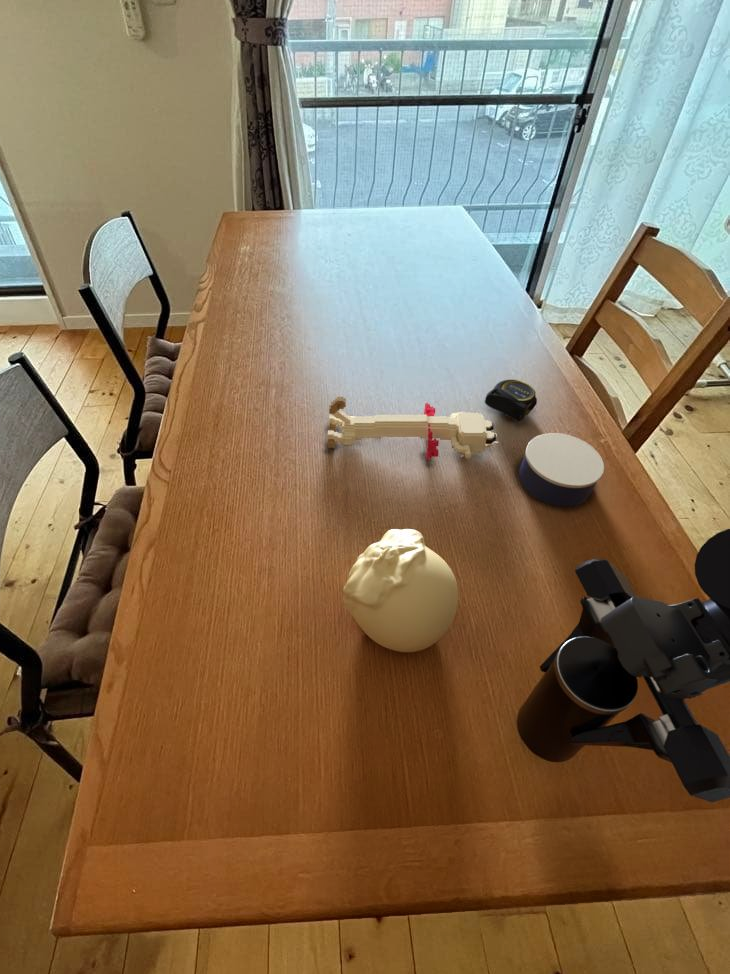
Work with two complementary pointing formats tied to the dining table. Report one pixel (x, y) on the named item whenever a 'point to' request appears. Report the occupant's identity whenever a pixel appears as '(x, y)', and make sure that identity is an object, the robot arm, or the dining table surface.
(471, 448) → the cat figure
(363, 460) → the dining table surface
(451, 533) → the dining table surface
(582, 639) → the tube
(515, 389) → the tape measure
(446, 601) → the sculpture
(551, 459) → the coffee tin
